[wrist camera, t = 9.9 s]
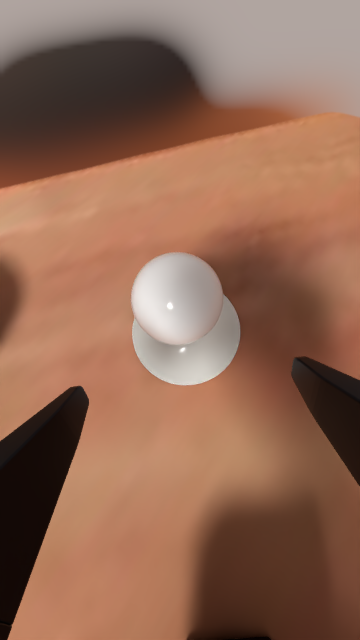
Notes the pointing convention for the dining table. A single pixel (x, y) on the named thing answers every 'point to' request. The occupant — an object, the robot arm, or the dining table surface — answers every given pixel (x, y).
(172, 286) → the lightbulb
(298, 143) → the dining table surface
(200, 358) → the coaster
